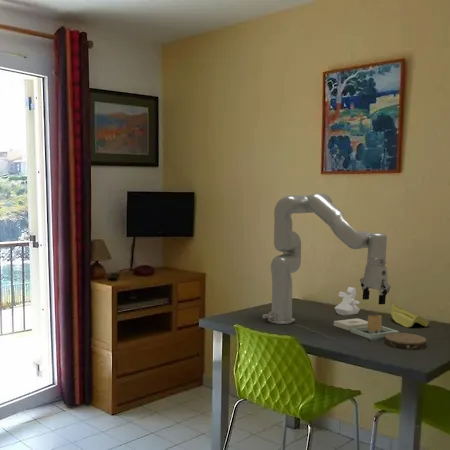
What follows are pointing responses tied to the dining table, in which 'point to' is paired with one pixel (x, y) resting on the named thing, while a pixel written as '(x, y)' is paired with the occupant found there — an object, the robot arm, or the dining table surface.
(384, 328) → the tray
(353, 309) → the white faceted figurine
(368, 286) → the robot arm
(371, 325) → the tan rectangular block
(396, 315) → the plastic component
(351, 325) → the block
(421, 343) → the wood slice coaster
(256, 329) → the dining table surface
